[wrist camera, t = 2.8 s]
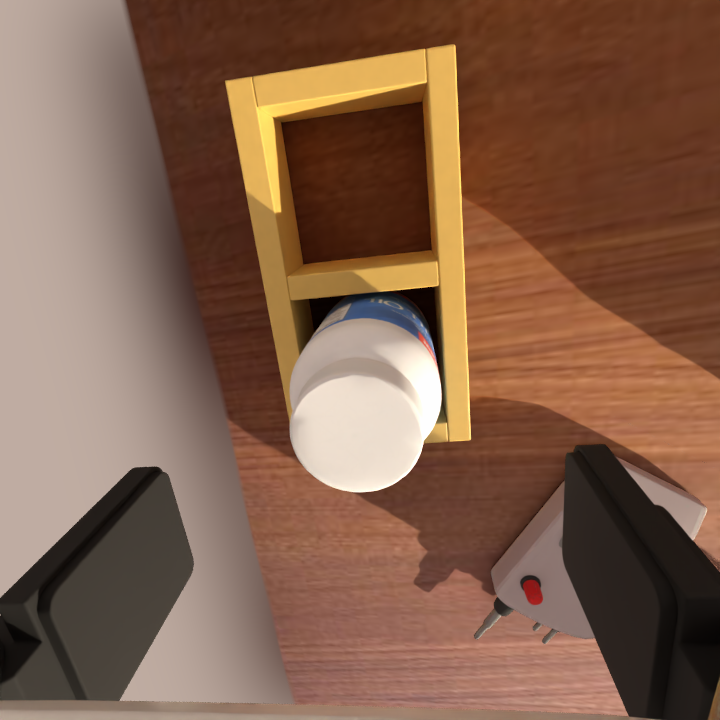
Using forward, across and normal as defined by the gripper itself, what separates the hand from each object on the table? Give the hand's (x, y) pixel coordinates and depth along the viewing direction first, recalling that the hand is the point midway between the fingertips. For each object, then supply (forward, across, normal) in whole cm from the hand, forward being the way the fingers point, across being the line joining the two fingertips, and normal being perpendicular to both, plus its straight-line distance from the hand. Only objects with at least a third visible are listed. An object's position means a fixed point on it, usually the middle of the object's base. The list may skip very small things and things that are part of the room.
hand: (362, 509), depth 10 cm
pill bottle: (+13, 0, 0) cm, 13 cm away
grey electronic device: (+13, -10, +13) cm, 21 cm away
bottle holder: (+13, 0, -4) cm, 13 cm away
